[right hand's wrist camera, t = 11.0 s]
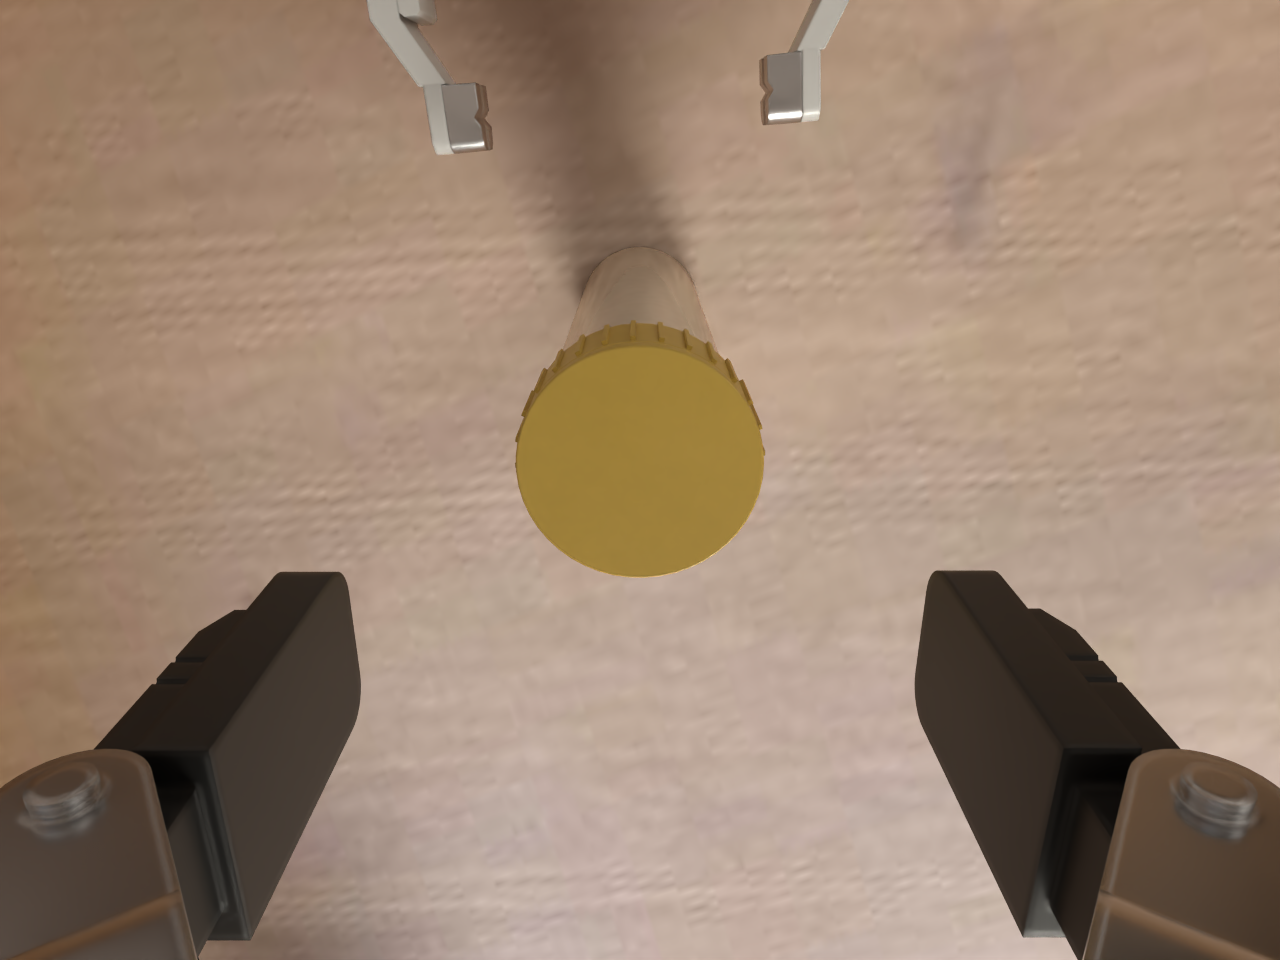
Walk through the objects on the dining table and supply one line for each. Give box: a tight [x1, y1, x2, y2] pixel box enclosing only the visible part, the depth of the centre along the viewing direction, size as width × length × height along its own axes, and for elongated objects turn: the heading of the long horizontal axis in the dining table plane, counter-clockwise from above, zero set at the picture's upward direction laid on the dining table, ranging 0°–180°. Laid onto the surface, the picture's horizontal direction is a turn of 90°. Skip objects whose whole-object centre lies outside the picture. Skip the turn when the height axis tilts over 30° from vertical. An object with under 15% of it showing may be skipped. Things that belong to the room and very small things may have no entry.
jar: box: [563, 247, 718, 353], centre depth 25 cm, size 4×4×17 cm
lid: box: [515, 320, 765, 578], centre depth 18 cm, size 5×5×2 cm
